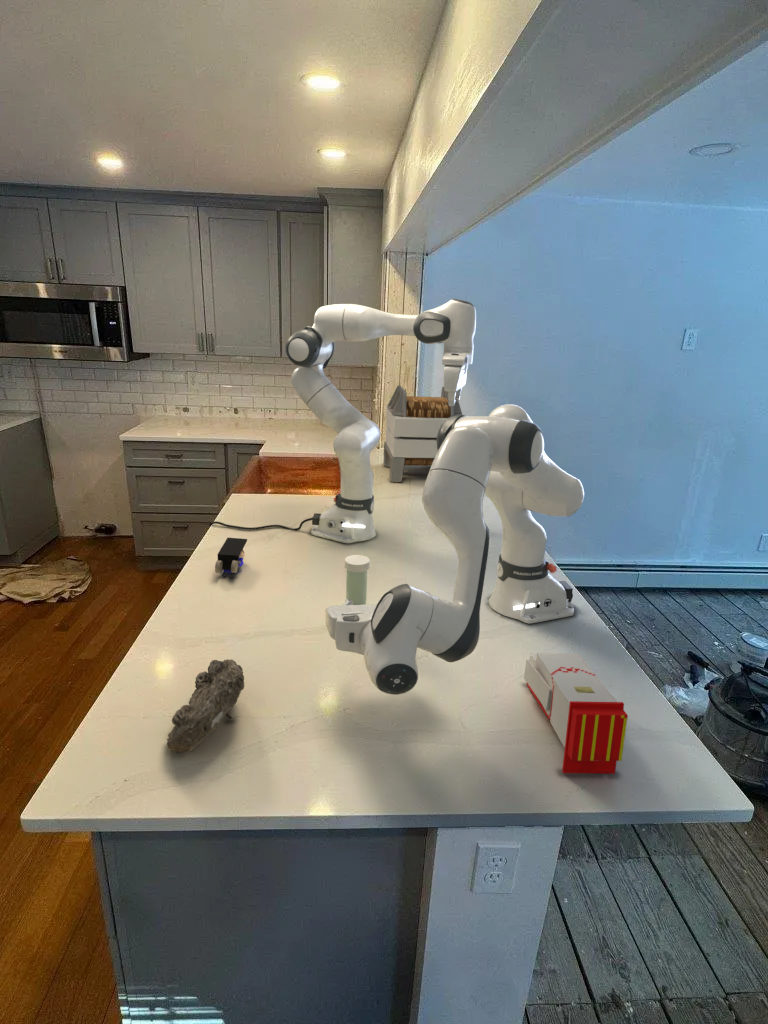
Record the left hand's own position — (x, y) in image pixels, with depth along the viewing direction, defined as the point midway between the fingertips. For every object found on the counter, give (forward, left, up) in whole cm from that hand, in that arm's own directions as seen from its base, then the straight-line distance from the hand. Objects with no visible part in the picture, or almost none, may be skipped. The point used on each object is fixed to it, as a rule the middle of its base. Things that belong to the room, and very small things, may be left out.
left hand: (454, 403), depth 174 cm
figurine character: (-55, -40, -48) cm, 84 cm away
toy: (+38, -77, -48) cm, 98 cm away
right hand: (-4, -71, -33) cm, 78 cm away
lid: (-13, -53, -32) cm, 63 cm away
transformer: (-27, +86, -48) cm, 102 cm away
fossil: (-26, -98, -48) cm, 112 cm away
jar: (-13, -53, -48) cm, 72 cm away
